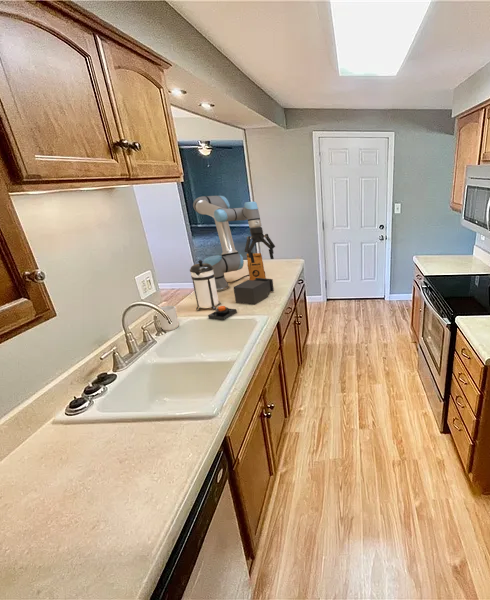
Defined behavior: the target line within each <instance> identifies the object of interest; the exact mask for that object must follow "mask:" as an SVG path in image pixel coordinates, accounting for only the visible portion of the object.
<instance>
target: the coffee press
mask: <svg viewBox="0 0 490 600" xmlns="http://www.w3.org/2000/svg"><path fill="white" fill-rule="evenodd" d="M213 269H214V268H213V267H212V265H211V264H208V263H204V260H201V259H199V260H198V261H197V263H195V264H193V265H191V267H190V269H189V272H190V275H191V276H190V277H191V280H192V285H193V291H194V295H195V300H196V305H197V306H196V308H195V311H197V312H200V310H201V309H212V311H215V310H216V309H217V308H216V307H217V306H218V305H219V306H221V302H220V300H219V296H218V291H217V289H216V283H215V278H214V277H215V275H214V272H213Z"/></svg>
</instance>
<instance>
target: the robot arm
mask: <svg viewBox="0 0 490 600" xmlns="http://www.w3.org/2000/svg"><path fill="white" fill-rule="evenodd" d="M243 205H244V207H233V208H231V205H230V202H229V199H228V198H227V197H226V196H225V195H205V196H204V195H203V196H199V197H197V198H195V199H194V200H193V203H192V207H193V209H194V211H195V212H196V213H198V214H199V215H207V216H208V217H209V216H210V217H212V219H213V220H214V224H215V227H216V231H217V235H218V237H219V238H218V239H219V242H220V245H221V251H222V252H221V254H220V255H219V254H215V255H210V256H208V257H206V258H204V260H203V263H208V264H211V265H212V267H213V268H214V269H213V272H214V275H215V277H214V278H215V283H216V289H217V292H222V291H226V290H228V289H229V288H230V286H229V284H232V283H235V282H238V281H239V280H242V279H243V278H246V277H250V275H249V274H247V275H243V276H242V277H240V278H238V279H235V280H232V281H227V280H226V277H225V274H226V273H232V272H237V271H240V270H242V269H243V267H244V264H245V263H244V262H245V261H244V257H243V255H242V254H241V253H239V251H238V250H237V249H236V247H235V242H234V240H233V235H232V231H231V228H230V224H229V222H235V221H237V222H238V221H247V224H248V227H249V233H250V236H249V235H247V236H246V242H245V246H244V253H246V254H248V255H249V258H251V262H252V263H255V261H254V257H253V253H254V252H252V251H253V250H254V247H255V245H256V244H257V243H262V244H264V245H265V246H266V247H267V248H268V254H269V257H270V260H274V259H275V258H274V248H276V245H275V244H274V242H273V241H272V239H271V237H270V236H269V234H268V233H264V231H263V230H264V229H263V227H262V221H261V217H260V211H259V206H258V203H257V202H256V201H247V202H246V201H245V202H244V204H243Z"/></svg>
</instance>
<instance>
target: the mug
mask: <svg viewBox="0 0 490 600" xmlns="http://www.w3.org/2000/svg"><path fill="white" fill-rule="evenodd" d="M159 308H161V309H162V310H164V311H165V313H166V314H167V315H168V316H169V317H170V319H171V321H172V324H169V323H168V322H167V320H166V319H165V318H164V317H162V316H161V315H160V314H159V313H157V312H156V311H155V313H156V317H158V318H159V320H160V323H161V327H162V329H163V330H162V329H161V330H162V331H164V332H169V331H173V330H176V329H177V328H179V325H180V322H179V318H178V313H177V306H176V305H164V306H160V307H159ZM158 318H157V319H158Z"/></svg>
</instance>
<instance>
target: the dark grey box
mask: <svg viewBox="0 0 490 600" xmlns="http://www.w3.org/2000/svg"><path fill="white" fill-rule="evenodd" d="M233 293H234V299H235V303H236V304H243V305H251V306H253V305H254V306H255V305H257V304H259V303H261V302H262V301H263V300H265V299H267V298H268V297H269V293H268V292H267V283H266V281H255V280H249V279H247V280H245V281H243V282H240V283H239V284H236V285H235V286H233Z"/></svg>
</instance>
